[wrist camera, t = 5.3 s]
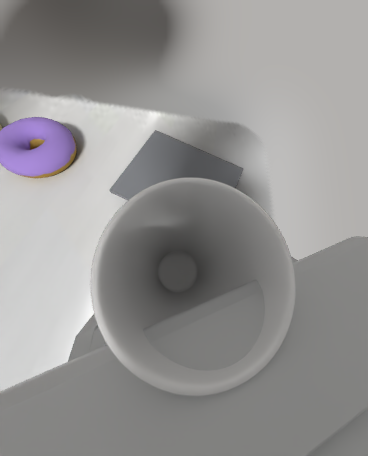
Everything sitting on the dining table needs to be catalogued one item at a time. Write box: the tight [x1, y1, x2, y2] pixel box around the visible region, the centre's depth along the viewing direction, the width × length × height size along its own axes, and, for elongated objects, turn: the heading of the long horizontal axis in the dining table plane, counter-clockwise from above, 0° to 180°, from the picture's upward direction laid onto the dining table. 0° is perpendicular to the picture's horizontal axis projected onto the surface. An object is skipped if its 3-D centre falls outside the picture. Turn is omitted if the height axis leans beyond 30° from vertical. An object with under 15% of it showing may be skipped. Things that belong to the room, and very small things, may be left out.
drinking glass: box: [90, 177, 296, 396], centre depth 12 cm, size 7×7×15 cm
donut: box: [0, 117, 77, 178], centre depth 21 cm, size 10×9×5 cm
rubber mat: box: [110, 130, 243, 200], centre depth 23 cm, size 17×14×1 cm
